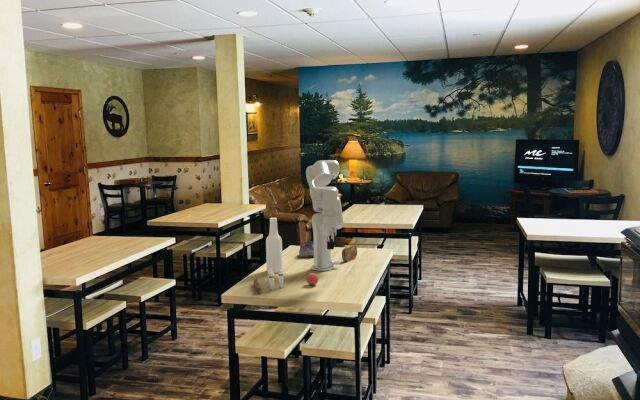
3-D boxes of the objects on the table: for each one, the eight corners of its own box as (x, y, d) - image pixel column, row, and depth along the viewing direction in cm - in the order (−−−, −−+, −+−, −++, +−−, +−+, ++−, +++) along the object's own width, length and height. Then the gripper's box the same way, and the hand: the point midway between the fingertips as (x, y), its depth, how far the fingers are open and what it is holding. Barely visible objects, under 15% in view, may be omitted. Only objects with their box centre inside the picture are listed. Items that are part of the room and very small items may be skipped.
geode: (305, 250, 347) (307, 235, 345) (322, 254, 344) (324, 239, 342) (295, 256, 327) (297, 241, 326) (313, 260, 324) (315, 244, 323)
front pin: (283, 286, 268) (282, 269, 267) (284, 287, 266) (283, 271, 264) (278, 286, 267) (277, 270, 266) (279, 288, 265) (278, 271, 264)
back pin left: (274, 288, 264) (273, 271, 263) (274, 290, 262) (274, 273, 261) (269, 288, 264) (268, 272, 263) (269, 290, 262) (269, 273, 260)
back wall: (257, 284, 272) (257, 278, 271) (260, 293, 256) (260, 287, 256) (253, 284, 271) (253, 279, 271) (256, 294, 256) (256, 288, 256)
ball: (317, 282, 273) (316, 271, 273) (319, 286, 268) (319, 274, 267) (305, 283, 272) (305, 272, 271) (307, 286, 266) (307, 275, 266)
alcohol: (280, 273, 292) (278, 219, 288) (264, 273, 293) (263, 219, 289) (284, 269, 300) (283, 216, 296) (269, 269, 302) (267, 216, 298)
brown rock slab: (345, 263, 313) (345, 249, 312) (340, 262, 315) (340, 248, 314) (357, 257, 326) (357, 244, 325) (353, 257, 328) (353, 243, 326)
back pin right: (272, 285, 269) (272, 269, 268) (273, 287, 267) (272, 270, 266) (267, 286, 269) (267, 269, 268) (268, 287, 266) (267, 270, 265)
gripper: (319, 211, 274) (320, 246, 276) (326, 215, 259) (326, 252, 261) (333, 210, 275) (334, 245, 277) (341, 214, 261) (341, 251, 263)
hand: (330, 249), depth 269 cm, fingers closed
